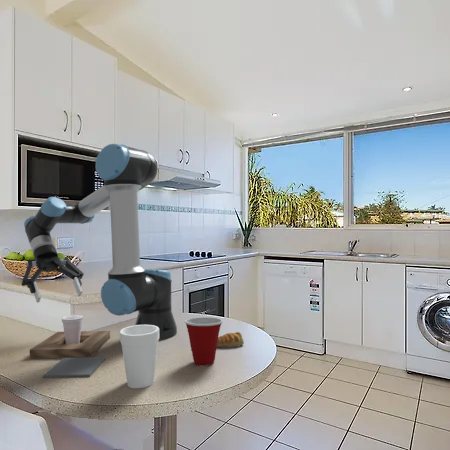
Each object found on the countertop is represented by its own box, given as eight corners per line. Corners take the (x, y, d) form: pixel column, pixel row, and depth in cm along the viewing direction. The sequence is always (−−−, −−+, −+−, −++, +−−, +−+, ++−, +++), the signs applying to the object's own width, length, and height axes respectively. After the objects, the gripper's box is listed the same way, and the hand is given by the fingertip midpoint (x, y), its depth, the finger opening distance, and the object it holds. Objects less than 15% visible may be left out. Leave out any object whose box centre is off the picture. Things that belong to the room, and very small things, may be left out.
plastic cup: (227, 356, 106) (227, 315, 106) (217, 370, 95) (217, 325, 95) (192, 353, 109) (191, 313, 109) (179, 367, 98) (178, 323, 98)
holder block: (109, 338, 125) (109, 330, 125) (90, 357, 107) (90, 348, 107) (57, 338, 125) (57, 331, 125) (29, 358, 107) (29, 349, 107)
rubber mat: (105, 359, 105) (105, 357, 105) (89, 376, 93) (89, 374, 93) (63, 360, 105) (63, 357, 105) (43, 377, 93) (43, 375, 93)
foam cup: (166, 377, 92) (166, 326, 92) (147, 393, 83) (146, 337, 83) (134, 373, 95) (133, 323, 95) (112, 388, 86) (111, 333, 86)
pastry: (217, 350, 111) (217, 338, 111) (210, 344, 118) (210, 332, 118) (245, 346, 115) (245, 334, 115) (237, 340, 121) (237, 329, 121)
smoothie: (75, 351, 112) (75, 306, 112) (57, 350, 113) (56, 305, 113) (87, 344, 118) (87, 301, 118) (70, 343, 120) (69, 301, 120)
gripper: (75, 255, 143) (92, 297, 133) (3, 260, 126) (17, 309, 115) (80, 242, 140) (99, 284, 129) (7, 245, 122) (22, 295, 111)
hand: (60, 296), depth 122 cm, fingers open, 13 cm apart
